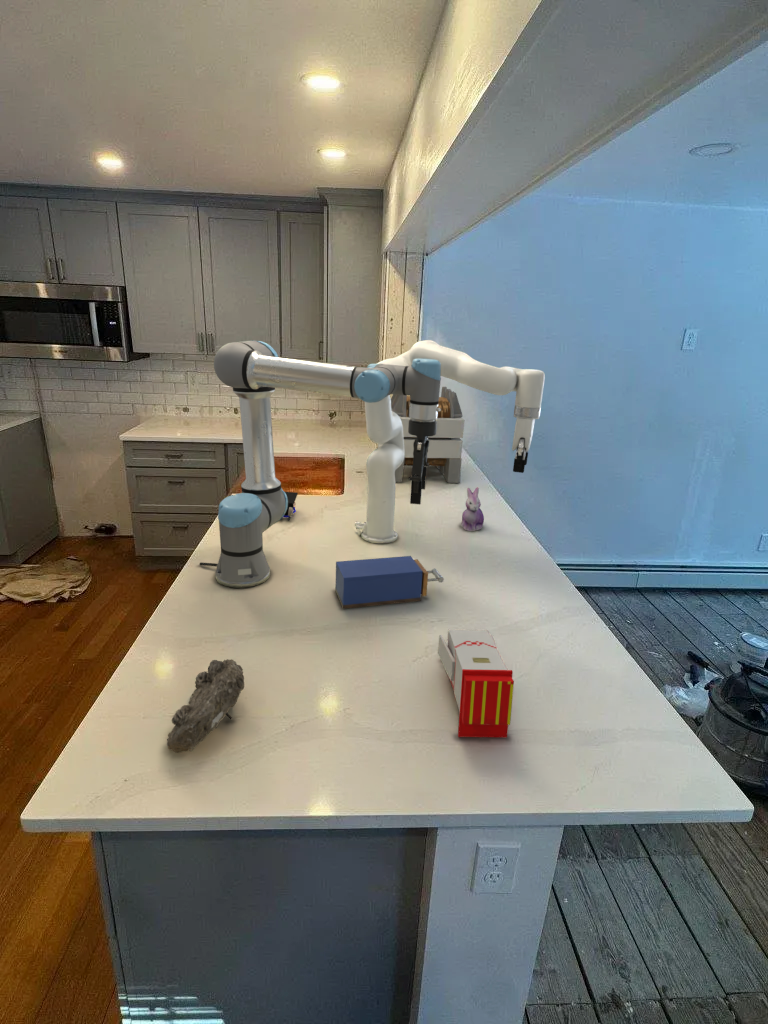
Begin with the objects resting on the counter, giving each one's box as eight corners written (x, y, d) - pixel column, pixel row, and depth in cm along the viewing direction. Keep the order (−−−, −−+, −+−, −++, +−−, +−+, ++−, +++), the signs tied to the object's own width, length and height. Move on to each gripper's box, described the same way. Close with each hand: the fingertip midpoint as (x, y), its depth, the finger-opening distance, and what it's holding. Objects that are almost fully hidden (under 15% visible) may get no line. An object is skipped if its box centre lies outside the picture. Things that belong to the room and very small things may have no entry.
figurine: (469, 533, 203) (473, 493, 198) (453, 523, 211) (457, 485, 206) (490, 530, 207) (495, 490, 202) (474, 520, 215) (478, 482, 210)
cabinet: (408, 584, 164) (410, 555, 161) (420, 600, 155) (422, 571, 152) (335, 590, 158) (335, 561, 155) (342, 608, 149) (343, 578, 146)
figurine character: (293, 526, 206) (298, 508, 219) (293, 507, 202) (298, 490, 216) (275, 525, 205) (281, 507, 219) (274, 507, 202) (280, 489, 215)
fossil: (192, 660, 117) (244, 628, 112) (224, 691, 120) (276, 661, 115) (142, 746, 98) (202, 712, 93) (182, 779, 101) (242, 748, 96)
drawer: (433, 579, 165) (435, 557, 163) (444, 594, 157) (447, 571, 154) (346, 587, 158) (347, 564, 156) (354, 603, 150) (354, 579, 148)
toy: (488, 613, 130) (523, 677, 101) (484, 667, 133) (517, 744, 104) (435, 612, 130) (455, 676, 101) (432, 666, 133) (451, 743, 103)
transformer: (382, 463, 289) (386, 382, 275) (445, 464, 293) (451, 384, 279) (390, 482, 257) (394, 392, 243) (460, 483, 261) (468, 394, 247)
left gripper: (433, 429, 137) (427, 511, 145) (440, 412, 161) (434, 484, 168) (403, 427, 138) (398, 509, 146) (413, 410, 162) (409, 482, 169)
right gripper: (516, 407, 177) (510, 460, 182) (510, 415, 161) (504, 473, 167) (541, 409, 175) (534, 463, 180) (538, 418, 159) (530, 476, 165)
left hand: (417, 496), depth 157 cm, fingers open, 13 cm apart
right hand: (519, 468), depth 174 cm, fingers open, 9 cm apart
